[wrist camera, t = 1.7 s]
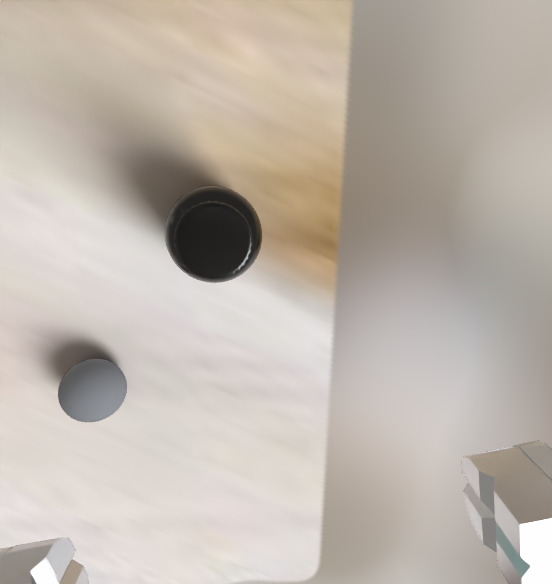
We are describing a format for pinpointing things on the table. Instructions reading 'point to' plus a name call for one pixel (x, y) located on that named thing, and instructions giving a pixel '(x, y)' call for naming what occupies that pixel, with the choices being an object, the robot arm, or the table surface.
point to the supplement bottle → (213, 234)
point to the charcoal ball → (92, 390)
